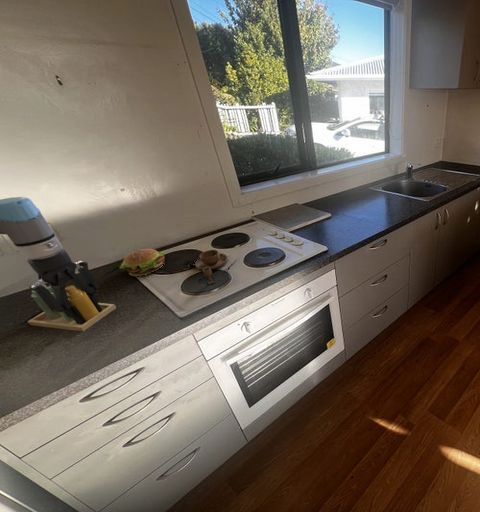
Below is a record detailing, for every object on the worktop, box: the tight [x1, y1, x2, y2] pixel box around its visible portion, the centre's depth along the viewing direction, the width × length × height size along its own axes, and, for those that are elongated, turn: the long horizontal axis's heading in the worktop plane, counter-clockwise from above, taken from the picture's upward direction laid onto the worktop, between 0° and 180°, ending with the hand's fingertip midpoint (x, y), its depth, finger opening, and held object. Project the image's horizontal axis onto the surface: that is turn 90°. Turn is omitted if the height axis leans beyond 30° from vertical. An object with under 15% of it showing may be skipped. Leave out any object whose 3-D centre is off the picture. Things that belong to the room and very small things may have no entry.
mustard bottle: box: [65, 284, 99, 322], centre depth 88 cm, size 5×5×12 cm
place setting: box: [187, 249, 238, 281], centre depth 114 cm, size 18×20×6 cm
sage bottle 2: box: [47, 285, 74, 321], centre depth 89 cm, size 5×5×12 cm
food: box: [118, 248, 166, 277], centre depth 114 cm, size 14×14×8 cm
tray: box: [27, 302, 117, 332], centre depth 92 cm, size 19×11×2 cm, turn 82°
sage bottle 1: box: [30, 283, 62, 319], centre depth 90 cm, size 5×5×12 cm
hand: (90, 317), depth 91 cm, fingers closed on mustard bottle, 5 cm apart
